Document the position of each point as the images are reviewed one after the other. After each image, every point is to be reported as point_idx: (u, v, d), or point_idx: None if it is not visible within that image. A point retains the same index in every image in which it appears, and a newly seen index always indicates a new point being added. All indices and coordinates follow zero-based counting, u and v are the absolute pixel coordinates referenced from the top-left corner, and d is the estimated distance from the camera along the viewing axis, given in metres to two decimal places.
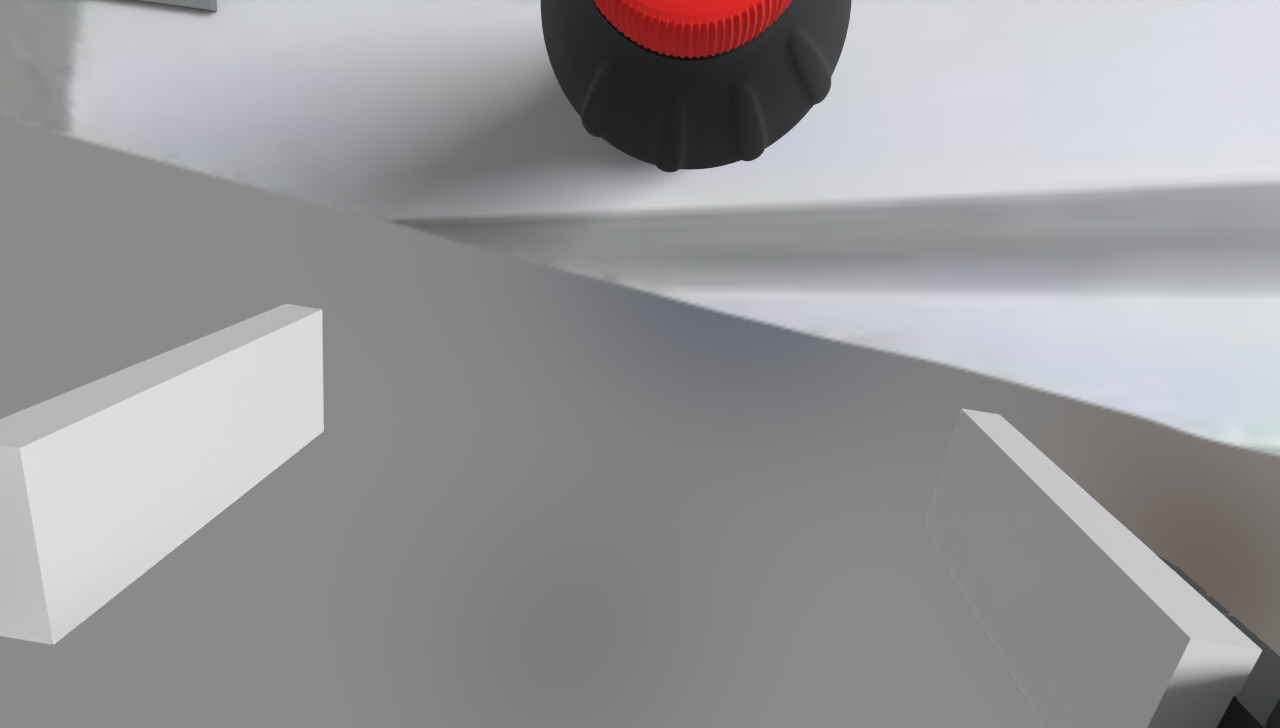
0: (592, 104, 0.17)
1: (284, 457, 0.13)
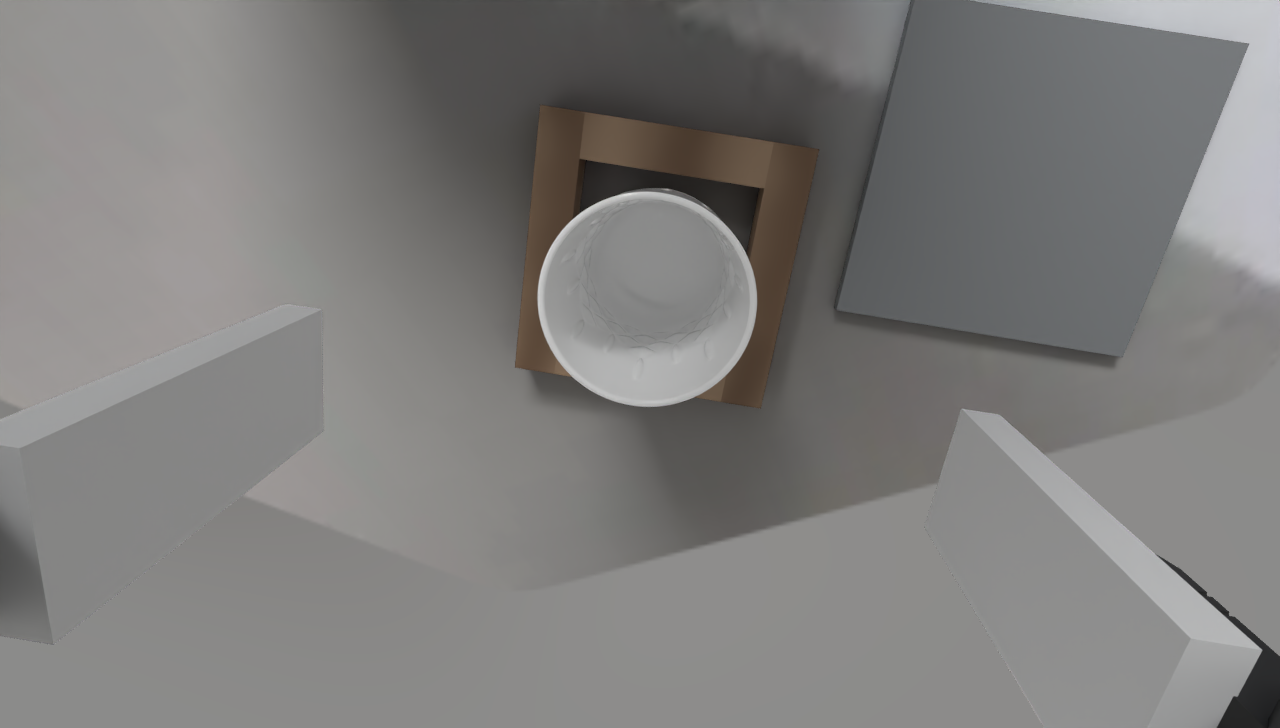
0: None
1: (284, 457, 0.13)
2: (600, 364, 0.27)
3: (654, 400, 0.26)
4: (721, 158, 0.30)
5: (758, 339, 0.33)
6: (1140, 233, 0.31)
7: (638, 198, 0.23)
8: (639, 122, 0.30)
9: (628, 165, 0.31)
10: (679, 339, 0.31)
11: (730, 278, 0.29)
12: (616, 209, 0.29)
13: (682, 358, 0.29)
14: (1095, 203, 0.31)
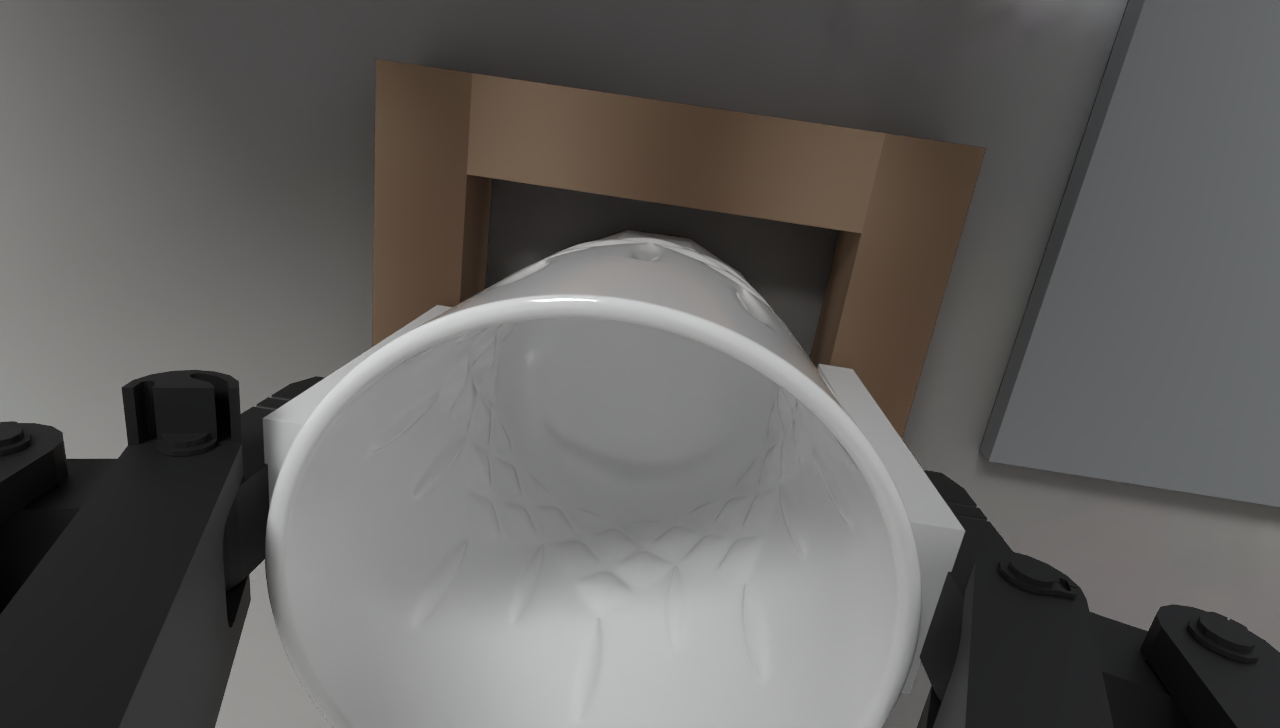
0: None
1: None
2: (490, 683, 0.11)
3: None
4: (768, 170, 0.14)
5: None
6: None
7: (544, 316, 0.07)
8: (591, 94, 0.14)
9: (570, 187, 0.14)
10: (683, 551, 0.15)
11: (800, 448, 0.12)
12: None
13: (690, 630, 0.13)
14: None
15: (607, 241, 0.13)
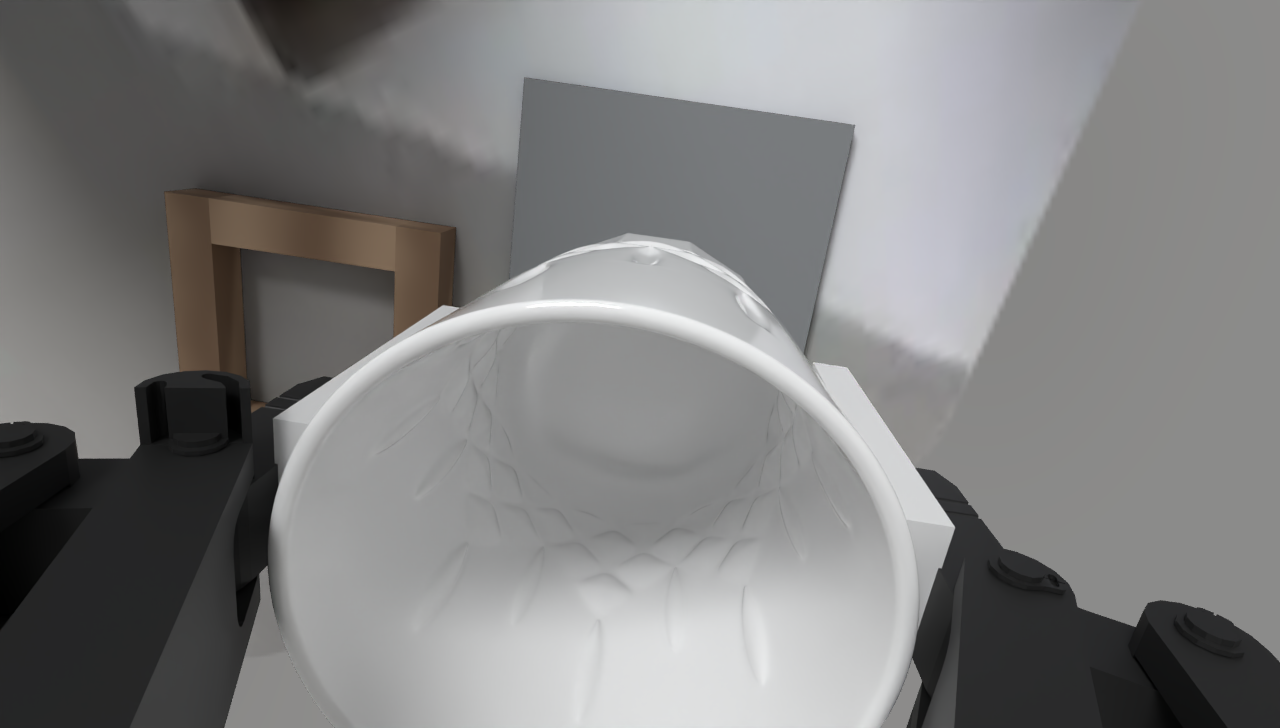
0: None
1: None
2: (490, 685, 0.11)
3: None
4: (347, 242, 0.30)
5: None
6: (782, 309, 0.31)
7: (545, 321, 0.07)
8: (262, 208, 0.30)
9: (260, 249, 0.30)
10: (682, 553, 0.15)
11: (799, 451, 0.12)
12: None
13: (690, 632, 0.13)
14: None
15: (607, 244, 0.13)
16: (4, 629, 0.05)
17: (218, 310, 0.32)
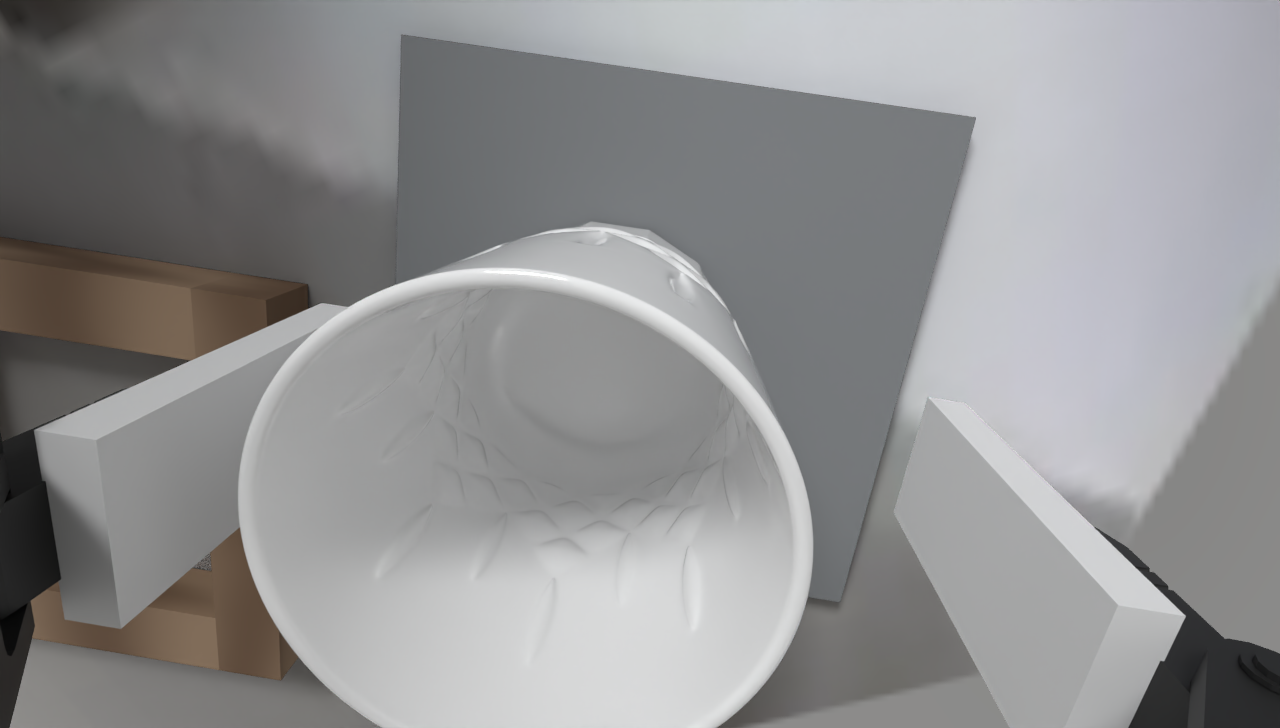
0: None
1: None
2: (447, 630, 0.12)
3: None
4: (114, 314, 0.18)
5: (250, 584, 0.20)
6: (839, 420, 0.19)
7: (478, 286, 0.08)
8: None
9: None
10: (636, 520, 0.16)
11: (738, 421, 0.13)
12: None
13: (637, 588, 0.14)
14: None
15: (564, 229, 0.14)
16: None
17: None
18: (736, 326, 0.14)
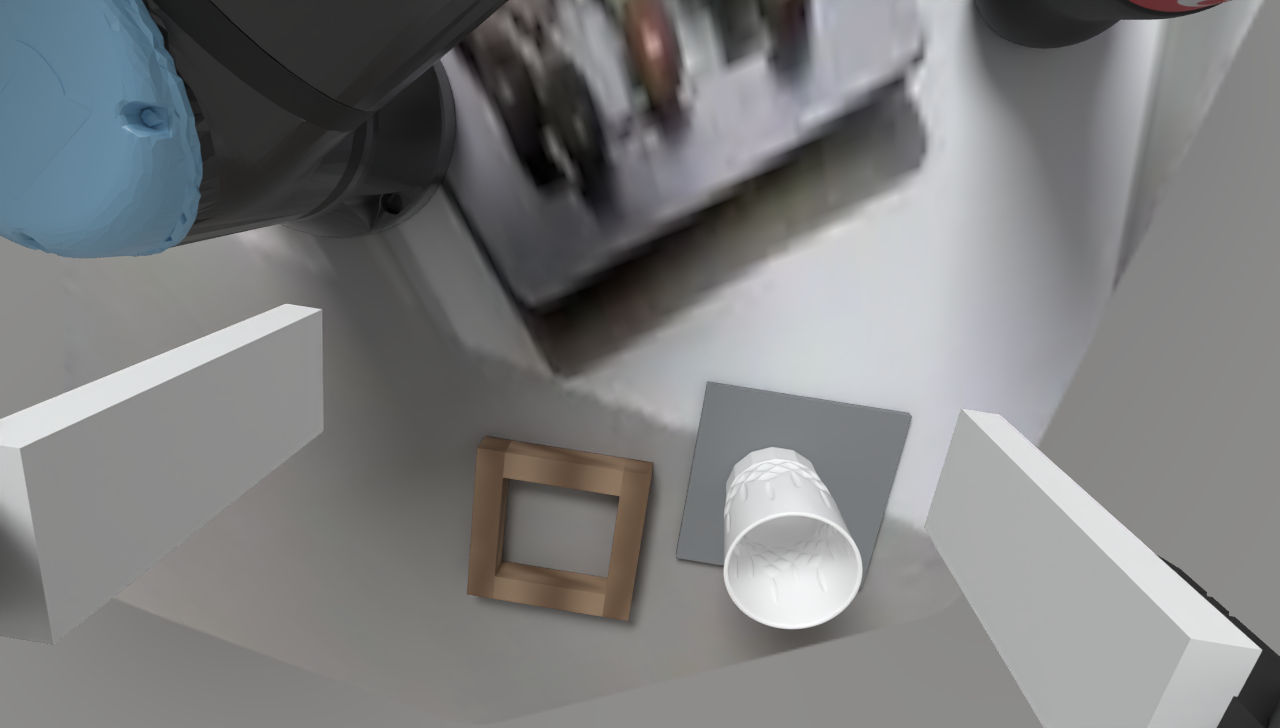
0: None
1: (284, 457, 0.13)
2: (753, 593, 0.42)
3: (793, 625, 0.40)
4: (591, 479, 0.48)
5: (623, 580, 0.50)
6: (862, 517, 0.49)
7: (792, 515, 0.38)
8: (539, 458, 0.48)
9: (533, 481, 0.48)
10: (794, 558, 0.46)
11: (833, 529, 0.43)
12: None
13: (801, 581, 0.44)
14: None
15: (777, 466, 0.44)
16: None
17: (500, 514, 0.50)
18: (833, 499, 0.44)
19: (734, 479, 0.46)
